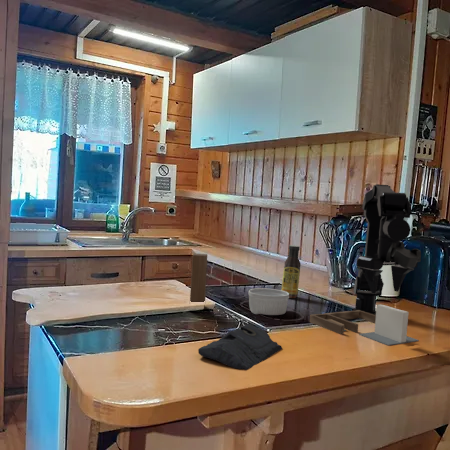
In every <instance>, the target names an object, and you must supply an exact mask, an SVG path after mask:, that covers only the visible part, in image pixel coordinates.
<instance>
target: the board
mask: <svg viewBox="0 0 450 450" xmlns="http://www.w3.org/2000/svg"><path fill="white" fill-rule="evenodd" d="M375 311H376V313H375V315H376V320H375V323H374V332H375V333H376V334H379V335H381V336H384V337H387V338H390V339H392V340H395V341H398V342H406V336H407V335H408V334H407V332H408V324H409V311H406V310H403V309H402V310H401V309H398V308H395V307H392V306H388V305H386V304H385V305H384V304H376V309H375Z"/></svg>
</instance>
